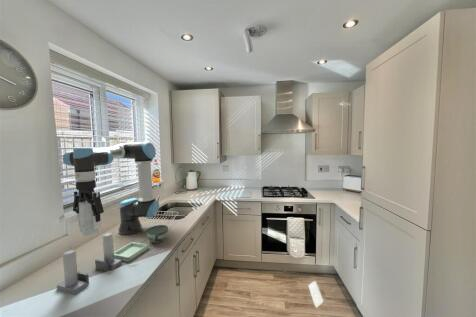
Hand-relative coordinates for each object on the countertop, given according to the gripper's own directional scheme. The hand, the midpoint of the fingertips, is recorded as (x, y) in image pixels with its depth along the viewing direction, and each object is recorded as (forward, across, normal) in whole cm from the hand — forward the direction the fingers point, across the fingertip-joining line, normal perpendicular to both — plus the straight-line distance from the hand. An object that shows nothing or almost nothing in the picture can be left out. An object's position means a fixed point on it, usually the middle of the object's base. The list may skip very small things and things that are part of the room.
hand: (89, 226), depth 96 cm
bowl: (+24, +7, +38) cm, 45 cm away
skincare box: (+3, 0, 0) cm, 3 cm away
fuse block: (+24, 0, 0) cm, 24 cm away
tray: (+24, +2, +21) cm, 32 cm away
